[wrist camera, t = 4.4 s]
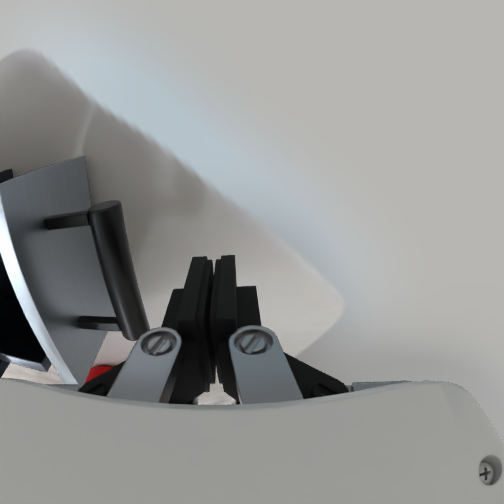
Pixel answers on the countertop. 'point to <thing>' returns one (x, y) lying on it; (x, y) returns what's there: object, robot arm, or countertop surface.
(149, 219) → the countertop surface
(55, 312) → the drawer
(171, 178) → the countertop surface
